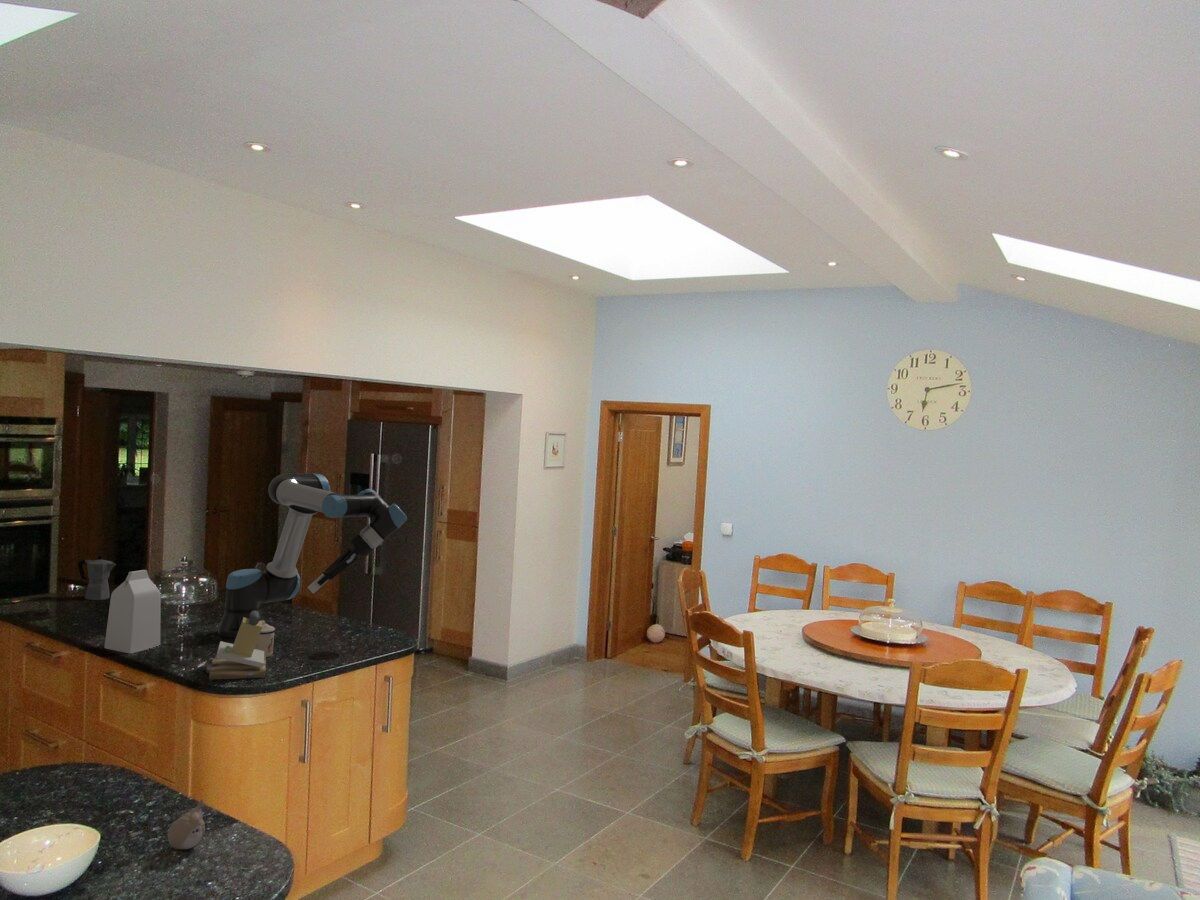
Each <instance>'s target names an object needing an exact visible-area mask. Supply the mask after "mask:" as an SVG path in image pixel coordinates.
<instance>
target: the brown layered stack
mask: <svg viewBox="0 0 1200 900" xmlns="http://www.w3.org/2000/svg"><path fill="white" fill-rule="evenodd" d="M211 660H212V661H211V663H210V664H207V665H206V673H207V674H209V677H208V679H209V680H226V679H227V680H228V679H230V680H233V679H234V680H235V679H258V678H259V679H260V678H266V671H267V670H266V669H267V668H266V665H267V657H264V665H263V667H262V668H261V667H256V666H252V665H247V664H242V663H238V662H233V661H229V660H224V659H220V658H216V657H214V658H212V659H211Z"/></svg>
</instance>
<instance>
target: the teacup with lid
mask: <svg viewBox="0 0 1200 900" xmlns="http://www.w3.org/2000/svg"><path fill="white" fill-rule="evenodd" d="M260 621H261V622H262V629H261V632H260V634H259V637H258V640H257V643H256V645H255V648H254V649H257V650H261V651H264V657H266V658H268V657H272V656H273V654H274V644H275V642H274V641H275V632H276V628H275V627H274V626H273V625H269V624H268V623H266V621H265V620H260Z"/></svg>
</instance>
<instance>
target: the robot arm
mask: <svg viewBox="0 0 1200 900" xmlns="http://www.w3.org/2000/svg"><path fill="white" fill-rule="evenodd" d="M270 481H271V482H270V483H269V485H268V489H267V490H268V491H267V492H268V496H269V498H270V499H271V500H272V502H274V503H276V504H279V505H282V506H287V507H288V509H289V510H288V513H287V516H286V519H285V522H284V525H283V528H282V531H281V533H280V534H281V535H280V538H279V540H278V543H277V547H276V550H275V553H274V556H273V558H272V559H273V560H272V561H271V562H268V563H267V564H266V567H265V570H264V571H261V570H260V569H258V568H244V569H238V570H235V571H234V570H233V571H232V572H231V573H229V574H228V576H227V579H226V584H225V603H224V614H223V615H222V618H221V620H220V623H219V625H218V628H217V629H218V630H217V635H218V636H221V637H224V638H231V639H236V636H237V634H238V631H239V628H240V625H241V623H242V620H243V617H245V618H249V619H250V613H251V612H252V611H254V610H256V611H258V612H259V607H260V604H264V603H272V602H275V603H276V602H284V601H287V600H291V599H294V598H295V597H296V595H297V594H299V591H300V589H301V576H300V573H299V571H298V568H297V567H296V566H297V562H298V560H299V557H300V554H301V551H302V547H303V545H304V542H305V539H306V535H307V533H308V530H309V527H310V524H311V520H312V518H313V515H316V514H318V512H319V513H323V515H324V516H325V517H326V518H329V519H330V518H331V519H332V518H333V519H340V518H360V517H361V518H363V517H366V518H367V517H368V518H369V519H370V520H371V522H370V523H369V524H368V525H366V526H365V527H363V529H361V531H360V532H359V534H356V535H355V536H354V537H353V538H351V539H350V543H351V545H352V547H350V548H347V549H346V550H344V551H343V552H342V553H341V554H340V555H339V556H338V558H336V559H335V560H334V561H333V562H332V563H330V565H329V566H328V567H326V569H324V571H322V574H320V575H319V576H318V577H317V578H316V579H315V580H314V581H313V582H311V583H310V584H309V585H308V586H307V589H308V590H309V591H310V592H311V593H312V594H315V593H316V592H318V590H319V589H320V588H322V587H323V586H324V585H325V584H327V583H328V582H329V581H330V580H333V579H335V577H337V576H338V575H339V574H341V573H342V571H344V570H345V569H347V568H348V567H349V566H351V565H352V564H354V563H355V561H356V560H357V559H358V558H357V557H358V556H359V555H360V554H361V555H362V556H363V557H364V558H367V557H368V556H369V555H370V554H372V552H373V551H374V549H376V548H377V547H378V546H382V545H383V542H384V541H386V539H387V538H389V537H390V536H391V535H393V534H394V533H395V532H396V531H397V530H399V529H400V528H401V526H403V525H404V524H405V522H407V520H408V516H407V514H406V513H405V512H404V511H403V510H402V509H401V508H400V507H399V506H398V505H397V503H392V504H390V505H389V504H388V503H387V502H386V501H385V499H383V498H382V497H381V495H380V494H378V493H377V492H376V491H375V490H374V489H371V488H366V489H364V490H361V491H360V492H358V493H357V494H342V493H337V492H333V491H331V486H330V482H329V480H328V478H327V477H326V476H324V475H323V474H322V473H321V474H319V473H314V472H311V473H286V472H285V473H281V474H279V475H276V476H275V477H274V478H272V480H270ZM259 621H261V617H260V616H259Z"/></svg>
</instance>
